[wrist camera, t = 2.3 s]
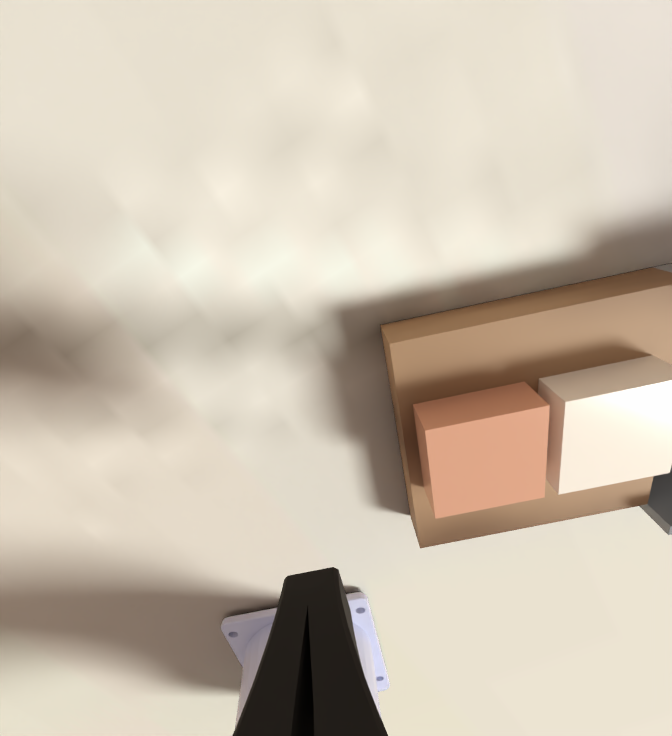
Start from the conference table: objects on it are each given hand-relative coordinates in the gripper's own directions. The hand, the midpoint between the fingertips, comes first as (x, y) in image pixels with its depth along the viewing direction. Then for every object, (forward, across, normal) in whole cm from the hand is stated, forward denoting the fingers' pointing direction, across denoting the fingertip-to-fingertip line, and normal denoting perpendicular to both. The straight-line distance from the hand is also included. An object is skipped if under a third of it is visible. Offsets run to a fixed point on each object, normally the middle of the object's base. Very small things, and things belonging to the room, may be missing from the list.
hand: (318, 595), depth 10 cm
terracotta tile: (+5, -6, 0) cm, 8 cm away
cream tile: (+5, -10, 0) cm, 12 cm away
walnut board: (+7, -8, +1) cm, 11 cm away
